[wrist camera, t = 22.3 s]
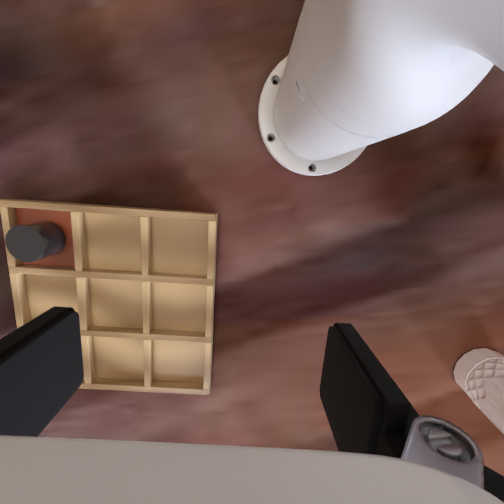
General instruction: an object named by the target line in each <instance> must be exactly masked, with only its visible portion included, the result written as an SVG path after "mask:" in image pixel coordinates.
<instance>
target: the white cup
mask: <svg viewBox="0 0 504 504" xmlns="http://www.w3.org/2000/svg"><path fill="white" fill-rule="evenodd" d="M453 374H454V379H455V382H456V383H457V384H458V385H459V386H460V387H461V388H462V389H463V390H464V391H465V392H466V393H467V395H468V396H469V397H470V398H471V400H472V401H473V402H474V403H475V404H476V405H477V407H478V408H479V409H480V410H481V411H482V412H483V413H484V414H485V415H486V416H487V418H488V419H489V420H490V421H491V422H492V423H493V424H494V425H495V426H496V427H497V428H498V429H499V430H500V431H501V432H502V433H503V434H504V356H503V355H501V354H500V353H498V352H496V351H494V350H491V349H488V348H479V349H473V350H471V351H469V352H467V353H465V354H464V355H463V356H462V357H461V358H460V359H459V360H458V361H457V362H456V365H455V368H454V371H453Z"/></svg>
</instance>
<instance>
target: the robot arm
mask: <svg viewBox="0 0 504 504" xmlns="http://www.w3.org/2000/svg"><path fill="white" fill-rule="evenodd" d="M494 64H495V65H496V66H497V67H499V68H500V69H501V70H503V71H504V0H305V2H304V5H303V9H302V11H301V15H300V18H299V21H298V25H297V28H296V31H295V35H294V38H293V41H292V45H291V48H290V51H289V55H288V56H287V57H285V58H284V59H283V60H282V61H281V62H279V63H278V65H277V66H276V67H275V68H274V70H273V71H272V72H271V73H270V75H269V77H268V79H267V81H266V82H265V84H264V87H263V90H262V93H261V96H260V101H259V108H258V121H259V129H260V133H261V136H262V140H263V142H264V144H265V146H266V148H267V150H268V151H269V152H270V154H271V155H272V156H273V158H274V159H275V160H276V161H277V162H279V163H280V164H281V165H282V166H283V167H285V168H287V169H289V170H290V171H292V172H295V173H298V174H301V175H309V176H319V175H326V174H330V173H333V172H336V171H338V170H341V169H342V168H344V167H346V166H347V165H349V164H350V163H352V162H353V161H354V160H355V159H356V158H357V157H358V156H359V155H360V154H361V153H362V152H363V150H364V149H365V148H366V146H367V145H370V144H373V143H376V142H379V141H382V140H384V139H387V138H390V137H393V136H396V135H399V134H402V133H405V132H407V131H409V130H412V129H415V128H418V127H420V126H423V125H425V124H427V123H429V122H431V121H433V120H435V119H437V118H439V117H440V116H442V115H443V114H445V113H446V112H448V111H449V110H451V109H452V108H454V107H455V106H456V105H457V104H459V103H460V102H461V101H462V100H463V99H464V98H465V97H467V96H468V95H469V93H470V92H471V91H472V90H473V89H474V88H475V87H476V86H477V85H478V84H479V83H480V82H481V81H482V80H483V78H484V77H485V76H486V75H487V73H488V72H489V71H490V69H491V68H492V67H493V65H494ZM273 81H276V82H277V84H276V85H274V84H273ZM269 137H272V138H273V140H272V141H269V140H268V138H269ZM309 166H312V168H313V169H312V170H311V171H310V170H309ZM83 378H84V369H83V357H82V345H81V333H80V321H79V314H78V312H75V310H74V309H73V308H72V307H57V306H54V307H52V308H50V309H49V310H47V311H46V312H44V313H42V314H41V315H39V316H37V317H36V318H34V319H33V320H31V321H29V322H28V323H26V324H24V325H23V326H21V327H20V328H18V329H16V330H15V331H13V332H11V333H10V334H8V335H6V336H5V337H3V338H2V339H0V504H504V476H502V475H500V474H498V473H497V472H495V471H493V470H491V469H490V468H488V467H486V466H484V461H483V455H482V451H481V449H480V448H479V446H478V445H477V443H476V442H475V441H474V440H473V439H472V438H471V437H470V436H469V435H468V434H467V433H466V432H464V431H463V430H462V429H460V428H459V427H457V426H456V425H454V424H452V423H450V422H449V421H446V420H444V419H441V418H439V417H434V416H430V415H421V416H419V414H418V413H417V412H416V410H415V409H414V408H413V406H412V405H411V403H410V402H409V401H408V399H407V398H406V397H405V395H404V394H403V393H402V391H401V390H400V389H399V387H398V386H397V385H396V383H395V382H394V381H393V379H392V378H391V377H390V375H389V374H388V373H387V371H386V370H385V369H384V367H383V366H382V365H381V363H380V362H379V361H378V359H377V358H376V357H375V355H374V354H373V352H372V351H371V350H370V348H369V347H368V346H367V344H366V343H365V342H364V340H363V339H362V338H361V336H360V335H359V334H358V332H357V331H356V330H355V328H354V327H353V326H352V325H351V324H346V323H335V324H334V326H333V327H332V326H330V327H329V330H328V336H327V343H326V350H325V357H324V363H323V370H322V377H321V384H320V397H321V400H322V403H323V406H324V409H325V412H326V415H327V418H328V421H329V424H330V427H331V430H332V433H333V436H334V439H335V441H336V444H337V447H338V450H339V451H326V450H307V449H288V448H268V447H249V446H230V445H208V444H186V443H165V442H144V441H122V440H99V439H78V438H56V437H37V436H38V435H39V434H40V433H41V432H42V431H43V429H44V428H45V427H46V426H47V425H48V423H49V422H50V421H51V420H52V419H53V418H54V416H55V415H56V414H57V413H58V412H59V410H60V409H61V408H62V407H63V406H64V405H65V403H66V402H67V401H68V400H69V399H70V397H71V396H72V395H73V394H74V393H75V392H76V390H77V389H78V388H79V387H80V385H81V384H82V382H83Z"/></svg>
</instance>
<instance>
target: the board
mask: <svg viewBox="0 0 504 504" xmlns="http://www.w3.org/2000/svg"><path fill="white" fill-rule="evenodd" d="M0 211H1V218H2V225H3V232H4V239H5V237H6V234H7V232H8V231H9V230H10V229H11V228H12V227H14V226H17V225H22V224H28V223H34V222H40V221H50V222H53V223H55V224H57V225H58V226H59V227H60V228H61V229H62V230H63V232H64V234H65V237H66V244H65V247H64V248H63V250H62V251H61V252H59V253H58V254H55V255H52V256H49V257H46V258H43V259H41V260H38V261H35V262H22V261H19V260H17V259H16V258H14V257H13V256H12V255H11V254H10V253H9V251H8V249H7V247H6V254H7V261H8V266H9V273H10V281H11V288H12V295H13V302H14V309H15V316H16V323H17V329H18V328H20V327H21V326H23V325H24V324H26V323H28V322H29V321H31V320H33V319H34V318H36V317H37V316H39V315H41V314H42V313H44V312H46V311H47V310H49V309H50V308H52V307H54V306H57V307H72V308H73V309H74V310H75V312H78V314H79V321H80V333H81V345H82V357H83V369H84V378H83V382H82V384H81V385H80V387H79V388H83V389H103V390H122V391H142V392H161V393H181V394H201V395H209V392H210V387H211V367H212V343H213V318H214V293H215V269H216V244H217V219H218V213H212V212H198V211H183V210H169V209H154V208H140V207H125V206H111V205H96V204H82V203H67V202H53V201H38V200H24V199H0ZM5 246H6V244H5Z"/></svg>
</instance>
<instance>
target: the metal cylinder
mask: <svg viewBox="0 0 504 504" xmlns="http://www.w3.org/2000/svg"><path fill="white" fill-rule="evenodd" d="M5 244H6V247H7V249H8V251H9V253H10V254H11V255H12V256H13V257H14V258H16V259H17V260H19V261H22V262H35V261H38V260H41V259H43V258H46V257H49V256H52V255H55V254H58V253H59V252H61V251H62V250H63V248H64V247H65V244H66V237H65V234H64V232H63V230H62V229H61V228H60V227H59V226H58V225H57V224H55V223H53V222H50V221H40V222H34V223H28V224H22V225H17V226H14V227H12V228H11V229H10V230H9V231H8V232H7V234H6V237H5Z"/></svg>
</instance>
